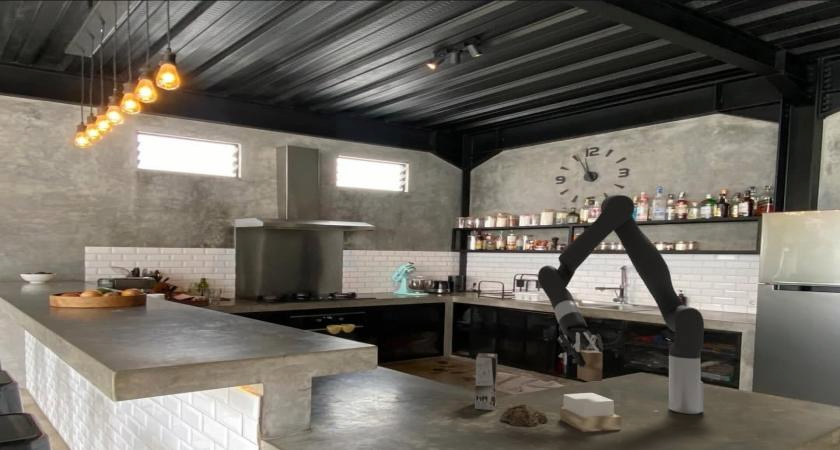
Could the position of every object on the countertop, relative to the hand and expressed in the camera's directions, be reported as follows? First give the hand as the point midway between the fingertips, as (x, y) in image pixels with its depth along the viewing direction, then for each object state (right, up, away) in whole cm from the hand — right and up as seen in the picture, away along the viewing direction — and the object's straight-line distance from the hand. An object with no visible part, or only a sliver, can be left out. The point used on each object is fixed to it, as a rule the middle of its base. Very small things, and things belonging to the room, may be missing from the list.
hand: (591, 365), depth 164 cm
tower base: (-1, -17, 0) cm, 18 cm away
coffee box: (-29, -17, +17) cm, 37 cm away
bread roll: (-20, -17, +2) cm, 26 cm away
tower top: (-1, -13, 0) cm, 14 cm away
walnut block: (0, -4, +1) cm, 4 cm away
